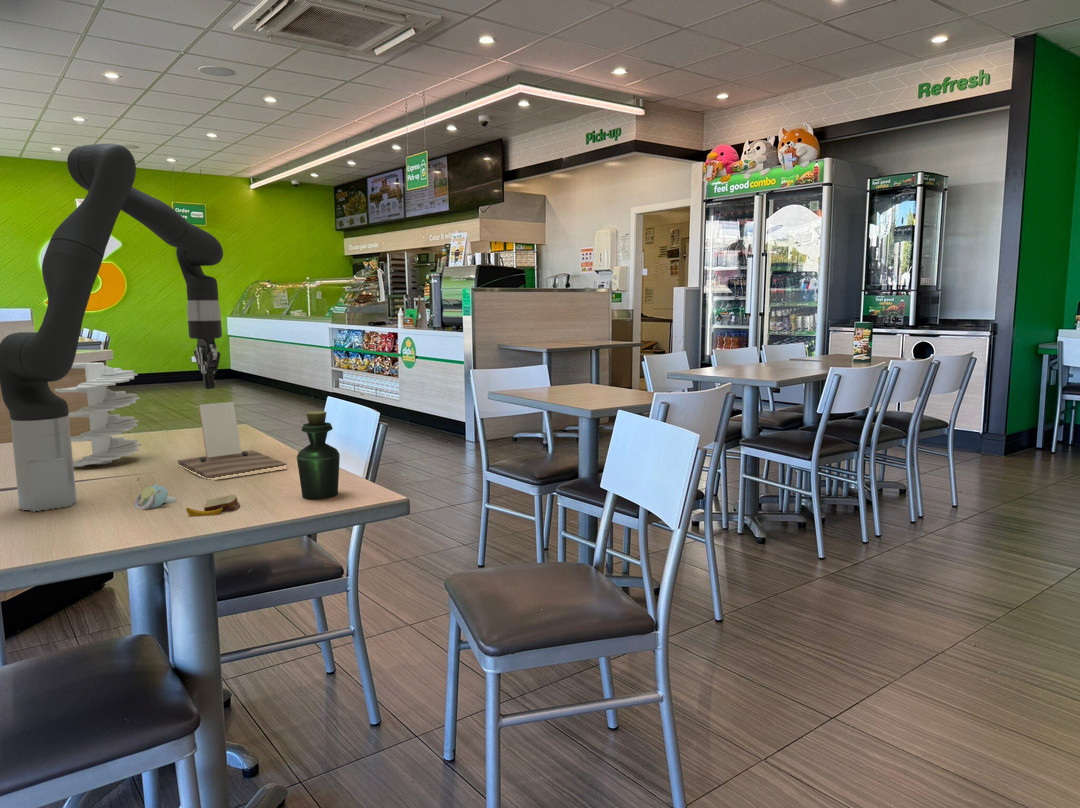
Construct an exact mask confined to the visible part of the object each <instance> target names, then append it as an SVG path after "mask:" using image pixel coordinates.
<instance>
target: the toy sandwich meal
mask: <svg viewBox="0 0 1080 808" xmlns="http://www.w3.org/2000/svg"><path fill="white" fill-rule="evenodd" d="M237 497H238V496H237V495H236V494H229V495H226V496H221V497H216V498H211V499H207V500H206V503H205V505H204V507H203V508H204V510H198V509H194V508H190V507H186V508H185V511H186V513H187V514H188V515H189V516H190V517H206V516H218V515H220V513H221V512H226V511H227V512H235V511H238V510H240V508H241V503H240V502H239V501H238V498H237Z"/></svg>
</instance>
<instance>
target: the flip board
mask: <svg viewBox="0 0 1080 808" xmlns="http://www.w3.org/2000/svg"><path fill="white" fill-rule="evenodd" d="M177 463H178V464H179V465H181V466H183V467H185V468H187V469H189V470H191V471H193V472H196V473H197V474H200V475H201V476H204V477H206V478H215V477H221V476H226V475H233V474H239V473H245V472H250V471H255V470H261V469H267V468H273V467H279V466H284V465H287V466H288V463H286V462H284V461H281V460H278V459H277V458H273V457H271V456H268V455H266V454H263V453H260V452H258V451H256V450H243V451H242V450H241V453H240V454H233V455H225V456H218V457H210V458H206V455H204V456H198V457H191V458H185V459H177Z"/></svg>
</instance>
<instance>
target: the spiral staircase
mask: <svg viewBox="0 0 1080 808" xmlns="http://www.w3.org/2000/svg"><path fill="white" fill-rule="evenodd" d="M71 369H75V370H76V369H83V370H84V371H85V374H84V375H85V382H79V384H77V385H76V386H71V387H65V388H55V390H54V391H55V392H58V393H61V394H62V393H64V394H65V393H79V394H80V393H81V394H82V393H83V394H86V395H87V406H84V407H81V408H80V409H79V410H75V411H72V412H69V414H68V415H69V418H88V419H89V429H90V431H89V430H88V431H83V433H80V434H79V435H75V436H71V443H75V442H76V443H78V442H91V452H92V453H91V454H90V455H85V456H83V457H82V458H81V459H78V460H75V461H74V460H73V467H85V466H87V465H94V466H95V465H97V466H99V465H100V466H101V464H102V465H108V463H109V464H111V462H112V463H113V461H114V460H120V459H121V458H122V457H126V456H129V455H131V454H133V453H134V452H139V451H140V450H139V447H140V446H141V447H142V443H140V442H139V443H138V439H125V436H118V437H117V436H116V435H121V434H122V432H128V431H131V430H133V429H134V428H137V427H139V426H138V425H139V424H137V423H140V420H139V419H135V416H121V414H119V413H117V414H116V413H115V414H110V413H109V412H111V411H116V409H121V408H124V407H130V406H131V405H132V404H133V405H134V404H136V402H137V400H141V398H140V397H138V394H137V393H126V392H127V391H125V390H123V391H121V390H120V391H114V390H111V389H110V388H108V389H107V387H110V386H112V387H113V386H116V384H120V383H126V382H130V380H135V376H138V373H135V370H129V369H127V370H126V369H125V370H124V369H123V370H122V367H109V365H105V364H104V362H89V361H88V362H75V363H74V362H73V365H72V367H71ZM113 436H116V437H113ZM134 454H135V453H134Z"/></svg>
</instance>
